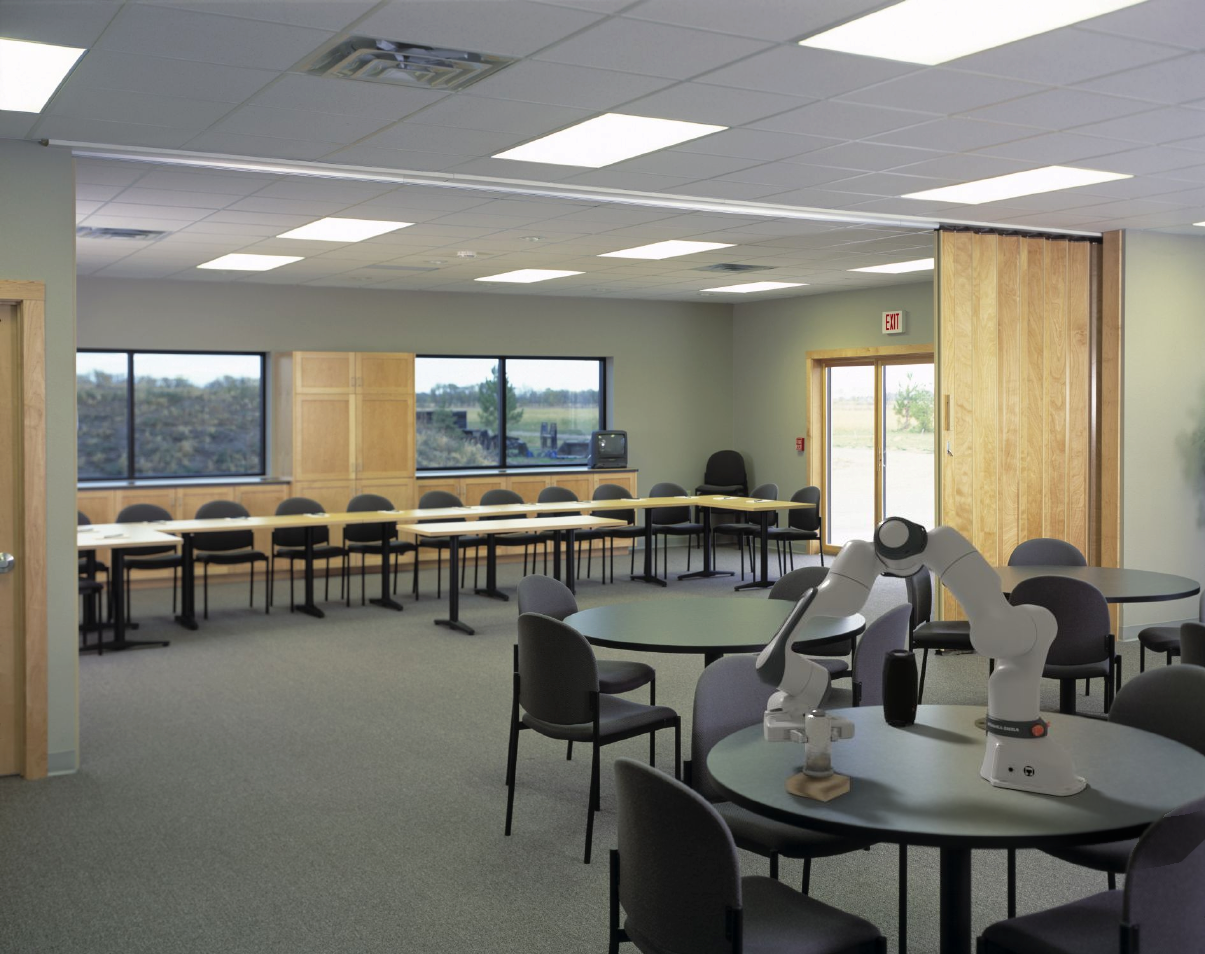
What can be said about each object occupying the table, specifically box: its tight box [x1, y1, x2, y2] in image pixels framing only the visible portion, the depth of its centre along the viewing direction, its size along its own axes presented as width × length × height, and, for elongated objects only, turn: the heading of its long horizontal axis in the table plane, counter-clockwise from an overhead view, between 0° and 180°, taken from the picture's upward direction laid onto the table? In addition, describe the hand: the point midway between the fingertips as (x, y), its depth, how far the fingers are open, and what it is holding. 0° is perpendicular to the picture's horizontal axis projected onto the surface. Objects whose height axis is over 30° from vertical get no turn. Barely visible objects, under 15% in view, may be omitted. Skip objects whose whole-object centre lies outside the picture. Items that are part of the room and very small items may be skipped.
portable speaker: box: [881, 648, 919, 728], centre depth 309 cm, size 9×9×20 cm
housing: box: [802, 708, 834, 778], centre depth 253 cm, size 7×7×14 cm
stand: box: [785, 771, 851, 803], centre depth 253 cm, size 10×10×3 cm
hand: (819, 738), depth 252 cm, fingers open, 6 cm apart
